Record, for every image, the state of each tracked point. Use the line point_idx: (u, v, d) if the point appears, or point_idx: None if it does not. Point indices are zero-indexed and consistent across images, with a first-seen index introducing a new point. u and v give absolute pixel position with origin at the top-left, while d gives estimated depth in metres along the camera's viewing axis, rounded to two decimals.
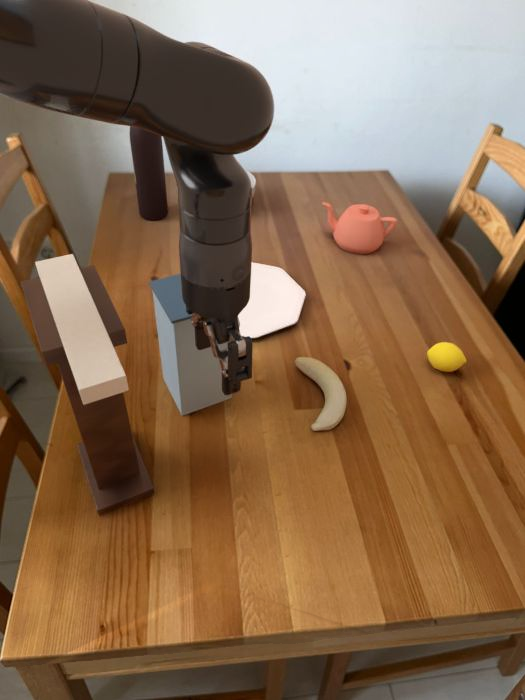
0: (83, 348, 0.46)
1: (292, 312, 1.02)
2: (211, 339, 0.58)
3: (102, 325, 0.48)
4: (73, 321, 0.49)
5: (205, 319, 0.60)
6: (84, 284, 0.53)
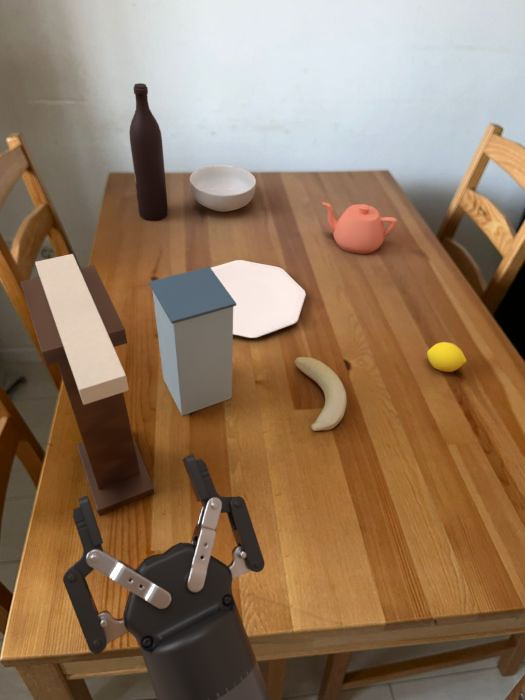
0: (83, 348, 0.46)
1: (292, 312, 1.02)
2: (142, 591, 0.37)
3: (102, 325, 0.48)
4: (73, 321, 0.49)
5: (183, 574, 0.38)
6: (84, 284, 0.53)
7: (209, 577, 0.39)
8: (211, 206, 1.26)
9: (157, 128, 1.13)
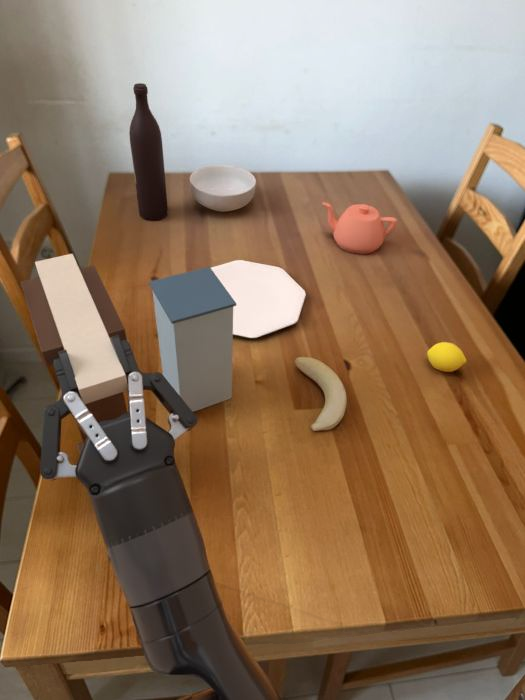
0: (83, 348, 0.46)
1: (292, 312, 1.02)
2: (96, 439, 0.42)
3: (102, 325, 0.48)
4: (73, 321, 0.49)
5: (129, 436, 0.44)
6: (84, 284, 0.53)
7: (153, 440, 0.44)
8: (211, 206, 1.26)
9: (157, 128, 1.13)
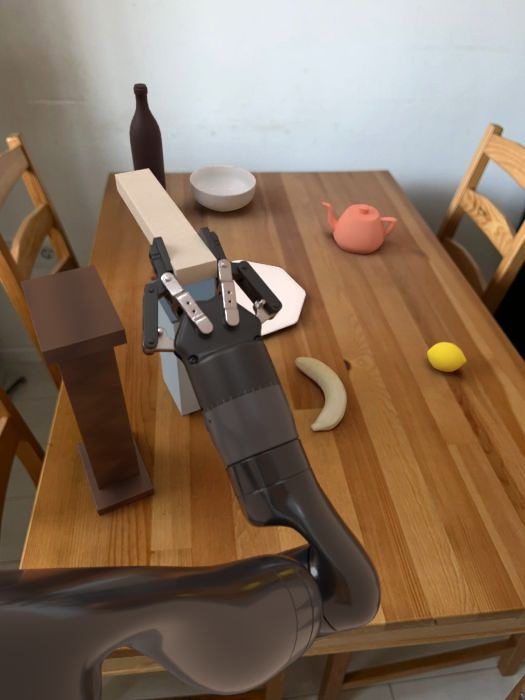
0: (173, 239, 0.49)
1: (292, 312, 1.02)
2: (193, 315, 0.45)
3: (187, 222, 0.51)
4: (160, 219, 0.52)
5: (221, 316, 0.46)
6: (164, 191, 0.56)
7: (243, 321, 0.47)
8: (211, 206, 1.26)
9: (157, 128, 1.13)
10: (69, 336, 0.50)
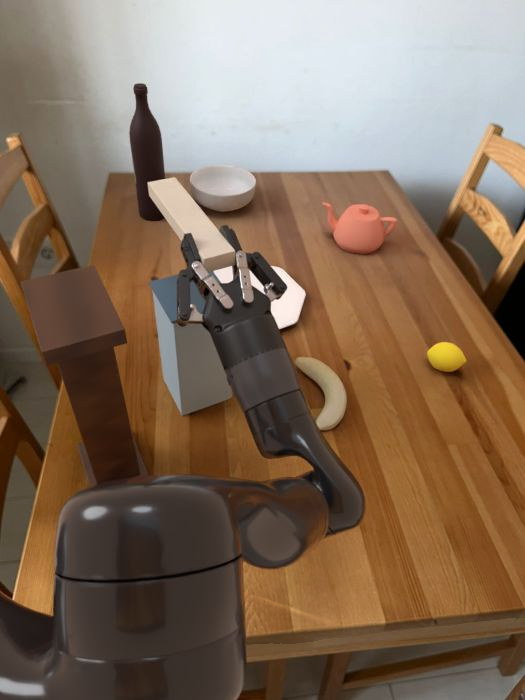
0: (200, 235, 0.61)
1: (292, 312, 1.02)
2: (217, 294, 0.57)
3: (210, 221, 0.64)
4: (188, 219, 0.64)
5: (239, 295, 0.59)
6: (189, 196, 0.68)
7: (256, 299, 0.59)
8: (211, 206, 1.26)
9: (157, 128, 1.13)
10: (69, 336, 0.50)
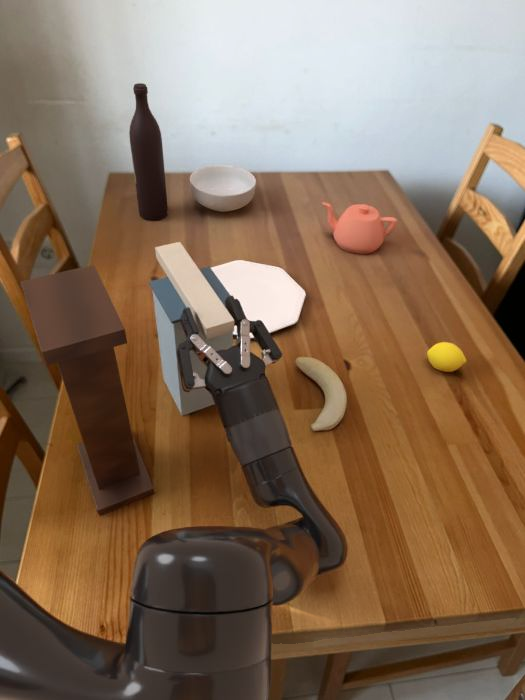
0: (202, 303, 0.69)
1: (292, 312, 1.02)
2: (216, 362, 0.65)
3: (212, 289, 0.71)
4: (192, 286, 0.71)
5: (237, 360, 0.66)
6: (193, 262, 0.75)
7: (252, 363, 0.66)
8: (211, 206, 1.26)
9: (157, 128, 1.13)
10: (69, 336, 0.50)
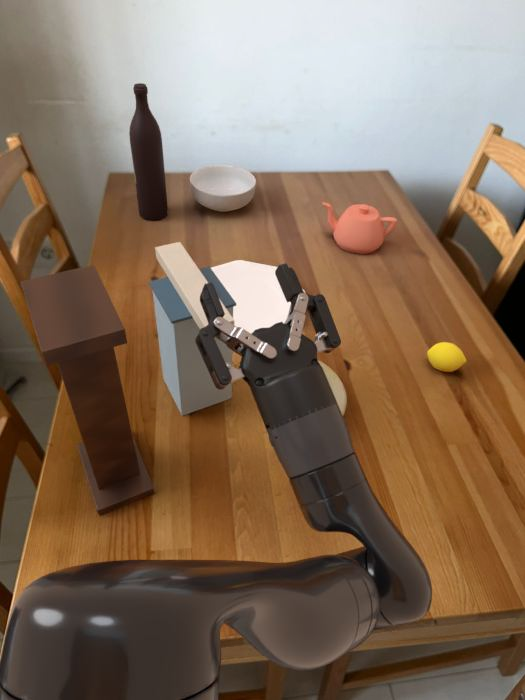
0: None
1: None
2: (255, 346, 0.50)
3: None
4: (192, 286, 0.71)
5: (282, 341, 0.51)
6: (193, 262, 0.75)
7: (301, 345, 0.52)
8: (211, 206, 1.26)
9: (157, 128, 1.13)
10: (69, 336, 0.50)
